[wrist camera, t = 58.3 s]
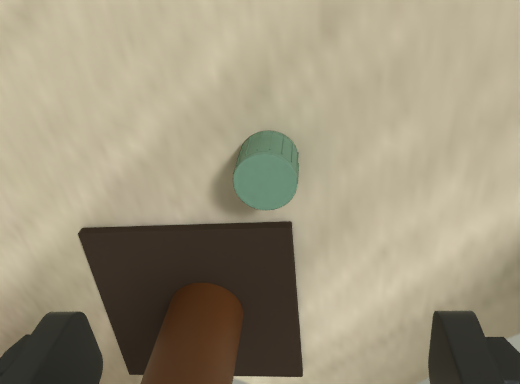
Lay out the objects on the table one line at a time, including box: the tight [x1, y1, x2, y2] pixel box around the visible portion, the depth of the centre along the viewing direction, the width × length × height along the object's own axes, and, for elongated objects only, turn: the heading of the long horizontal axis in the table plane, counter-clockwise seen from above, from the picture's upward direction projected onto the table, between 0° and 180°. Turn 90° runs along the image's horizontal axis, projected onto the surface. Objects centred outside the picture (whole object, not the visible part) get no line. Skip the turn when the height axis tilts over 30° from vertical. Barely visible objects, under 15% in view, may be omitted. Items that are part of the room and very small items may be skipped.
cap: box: [233, 131, 299, 210], centre depth 28 cm, size 4×4×4 cm
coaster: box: [78, 222, 303, 377], centre depth 37 cm, size 16×16×1 cm
